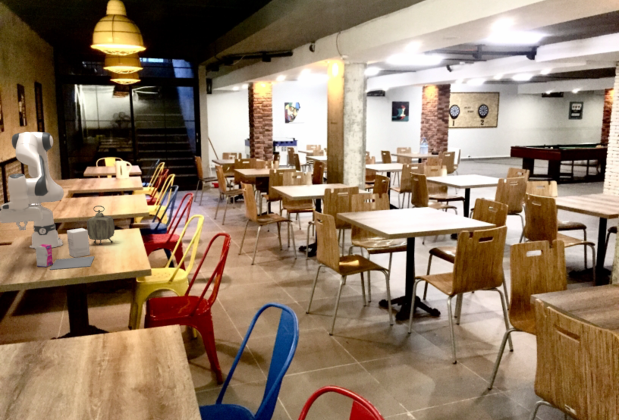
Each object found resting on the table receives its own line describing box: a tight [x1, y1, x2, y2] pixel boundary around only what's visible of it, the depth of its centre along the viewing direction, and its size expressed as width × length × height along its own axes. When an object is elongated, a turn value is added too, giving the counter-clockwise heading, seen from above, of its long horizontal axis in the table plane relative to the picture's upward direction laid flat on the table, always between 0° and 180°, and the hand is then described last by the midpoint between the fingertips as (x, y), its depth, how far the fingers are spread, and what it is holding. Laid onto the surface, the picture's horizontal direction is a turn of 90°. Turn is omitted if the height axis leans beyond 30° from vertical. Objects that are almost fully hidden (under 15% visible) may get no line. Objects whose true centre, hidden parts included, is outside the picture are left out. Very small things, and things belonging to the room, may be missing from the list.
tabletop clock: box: [86, 205, 115, 246], centre depth 325 cm, size 14×9×25 cm, turn 92°
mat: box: [49, 255, 95, 271], centre depth 285 cm, size 20×20×1 cm
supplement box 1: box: [35, 244, 54, 268], centre depth 281 cm, size 6×6×12 cm
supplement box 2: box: [66, 227, 91, 258], centre depth 301 cm, size 9×9×15 cm
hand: (22, 230), depth 275 cm, fingers closed
